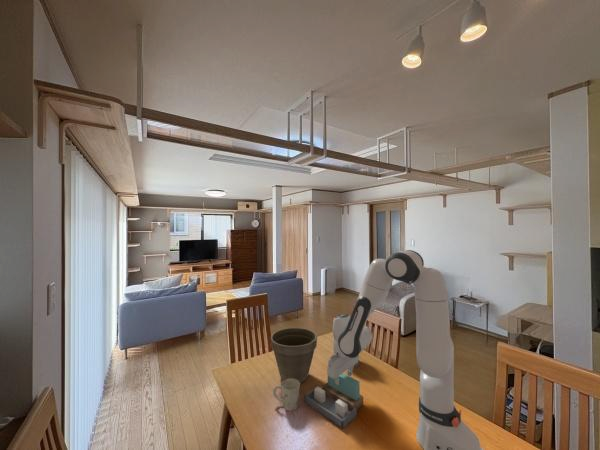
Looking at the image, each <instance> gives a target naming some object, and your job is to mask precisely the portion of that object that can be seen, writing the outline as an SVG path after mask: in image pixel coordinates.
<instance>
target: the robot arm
mask: <svg viewBox="0 0 600 450" xmlns="http://www.w3.org/2000/svg"><path fill="white" fill-rule="evenodd" d="M424 265H425V262H424V259H423V257H422V255H421V254H420V253H418V252H417V251H415V250H413V249H412V250H411V249H407V250H406V249H405V250H399V251H397V252H394V253H392V254H390V255H389V256H388V257H387V258H386V259H385V258H375V259H373V260H372V261H371V263H370V265H369V266H368V268H367V271H366V274H365V275H364V279H363V282H362V284H361V289H360V291H359V294H358V297H357V300H356V303H355V305H354V307H353V310H352V312H351V315H350V314H348V313H341V314H337V315H336V316H334V318H333V320H332V321H333V322H332V336H333V341H332V342H333V343H332V345H333V347H332V348H333V355H331V356H330V357H329V359H328V361H327V367H326V370H327V371H326V373H327V374H326V375H327V377H328V376H329V377H330V378H332V379H335V383H336V384H337V385H339V384H340V380H339V379H338V378H339V375H341V374H342V373H343V374H344V373H345V372H346V373H347V374H346V375H347V376H349V377H351V376H352V375H353V371H354V365H355V364H356V363H358V360H359V361H360V356H359V355H360V353H361V352H363V350H364V349H366V348H367V347H368V346H369V345H370V344H371V343H372V341H373V332H372V331H371V329H370V327H368V326H367V325H366V324H367V321H368V319H369V318H370V316H371V314H373V312H374V311H376V310H377V309H378V308H379V307H380V306H381V305H383V303H384V302H385V300H386V299H387V297H388V294H389V293H390V290H391V286H392V283H393V281H394V280H396V281H398V282H403V283H405V284H409V285H412V286H413V291H414V304H415V317H416V318H415V319H416V324H415V325H416V328H415V329H416V333H415V336H416V337H415V341H416V342H415V346H416V347H415V349H416V350H415V352H416V353H415V354H416V363H417V365H418V367H419V369H420V372H419V398H418V413H419V418H418V419H419V421H418V425H417V429H416V431H415V432H416V434H415V437H416V440H417V442H418V443H419V445H420V446H421V447H422V449H423V450H485V448H483V447H481V446H482V445H481V443H480V439H479V437H478V436H477V434H476V433H475V432H474V431H473V430H472V429H471V428H470V427H469V426H468V425H467V424H466V423H465V422H464V421H463V420H462V409H459V411H458V410H457V408H456V406H455V392H454V385H455V382H454V381H455V379H454V378H455V375H454V373H455V368H454V367H455V350H454V349H455V347H454V342H453V340H452V337H451V329H450V328H451V320H450V318H451V317H450V309H449V299H448V291H447V286H446V281H445V279H444V275H443V274H442V272H441V271H440V270H439V269H436V268H433V267H425V266H424Z"/></svg>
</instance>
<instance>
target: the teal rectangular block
mask: <svg viewBox="0 0 600 450" xmlns="http://www.w3.org/2000/svg"><path fill="white" fill-rule="evenodd" d="M338 379H339V380H340V384H339V385H337V384H336V383H335V379H332V378H330V377H329V376H328V375H327V383H328V385H329V386H331V387H333V388H334V389H336V390H338V391H340V392H342V393H343V394H345V395H347V396H349V397H351V398H352V399H354V400H357V399H358V398H359V397H360V395H361V394H360V392H361V391H360V389H361V388H360V381H359V380H357V379H355V378H353V377H351V376H348V374H345V373H344V372H343V373H342V374H341V375H339V378H338Z"/></svg>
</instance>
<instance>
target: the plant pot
mask: <svg viewBox="0 0 600 450" xmlns="http://www.w3.org/2000/svg"><path fill="white" fill-rule="evenodd" d="M317 343H318V335H317V334H316V332H314V331H313V330H311V329H308V328H303V327H287V328H281V329H278V330H277V331H275V332H273V333H272V334H271V336H270V346H271V349H272V350H273V354H274V357H275V362H276V364H277V369H278V373H279V376H280V378H281V380H282V382H283V381H284V380H286V379H290V378H293V379H296V380H298V381H299V382H300V384H301V383H304V382H305V381H306V380H307V379H308V376H309V373H310V368H311V366H312V365H311V364H312V361H313V358H314V357H313V356H314V353H315V350H316V348H317V346H318V345H317Z"/></svg>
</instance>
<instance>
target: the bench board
mask: <svg viewBox="0 0 600 450" xmlns="http://www.w3.org/2000/svg"><path fill="white" fill-rule="evenodd" d="M320 388H321V389H323V390H325V396H327V397H329V398H330V399H332V400H334V401H335V402H336V401H337V400H338V399H340V400H341V401H343V402H345V403H346V404H348V410H350V411H352V410H353V409H354V408H356V409H357V411H358V410H359V409H360V408H361V407H362V406H363V405H364V396H363V395H361V394H360V397H359V398H358V399H357V400H354V399H352V398H351V397H349V396H347V395H345V394H343V393H342V392H340V391H338V390H336V389H334V388H333V387H331V386H329V385H328V382H326V383H324V384H323V385H322V386H320Z"/></svg>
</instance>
